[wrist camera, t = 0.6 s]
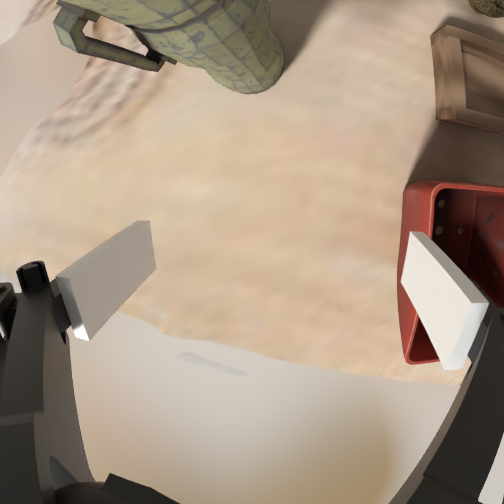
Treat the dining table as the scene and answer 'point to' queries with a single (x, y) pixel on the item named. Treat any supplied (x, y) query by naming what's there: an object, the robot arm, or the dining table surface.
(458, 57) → the walnut box
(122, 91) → the dining table surface
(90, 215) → the dining table surface
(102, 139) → the dining table surface
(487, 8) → the olive textured bell shape
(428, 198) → the plant pot
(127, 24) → the thermos
